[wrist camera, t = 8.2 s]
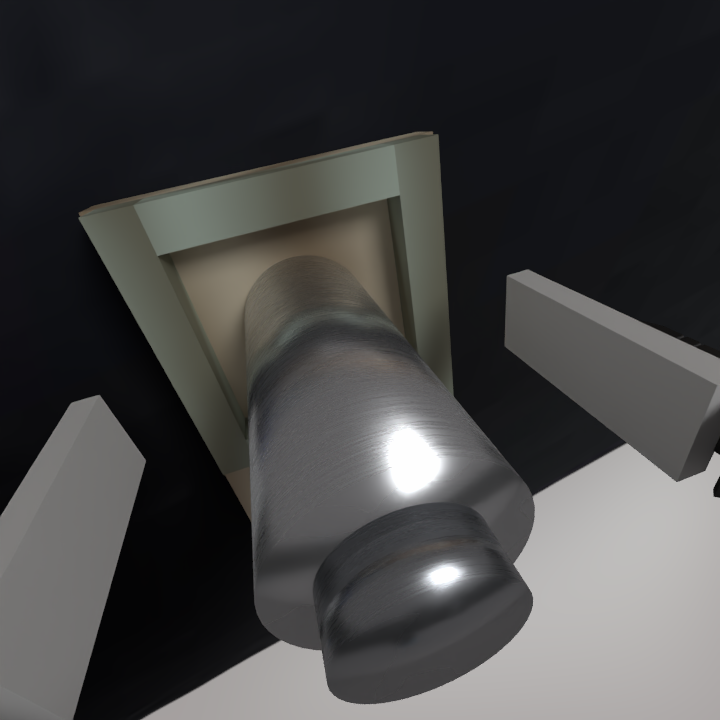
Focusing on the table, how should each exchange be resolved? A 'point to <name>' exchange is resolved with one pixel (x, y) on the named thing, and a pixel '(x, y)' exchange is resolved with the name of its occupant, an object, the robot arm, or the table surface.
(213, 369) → the dock mount
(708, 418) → the robot arm
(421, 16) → the table surface
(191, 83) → the table surface
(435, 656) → the metal bottle
